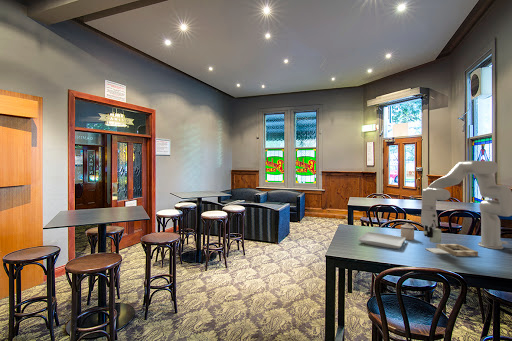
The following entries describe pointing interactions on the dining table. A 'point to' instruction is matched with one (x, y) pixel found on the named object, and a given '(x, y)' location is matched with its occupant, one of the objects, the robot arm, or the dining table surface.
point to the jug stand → (461, 252)
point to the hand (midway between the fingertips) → (428, 236)
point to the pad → (436, 250)
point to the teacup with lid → (407, 231)
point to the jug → (435, 236)
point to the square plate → (382, 240)
